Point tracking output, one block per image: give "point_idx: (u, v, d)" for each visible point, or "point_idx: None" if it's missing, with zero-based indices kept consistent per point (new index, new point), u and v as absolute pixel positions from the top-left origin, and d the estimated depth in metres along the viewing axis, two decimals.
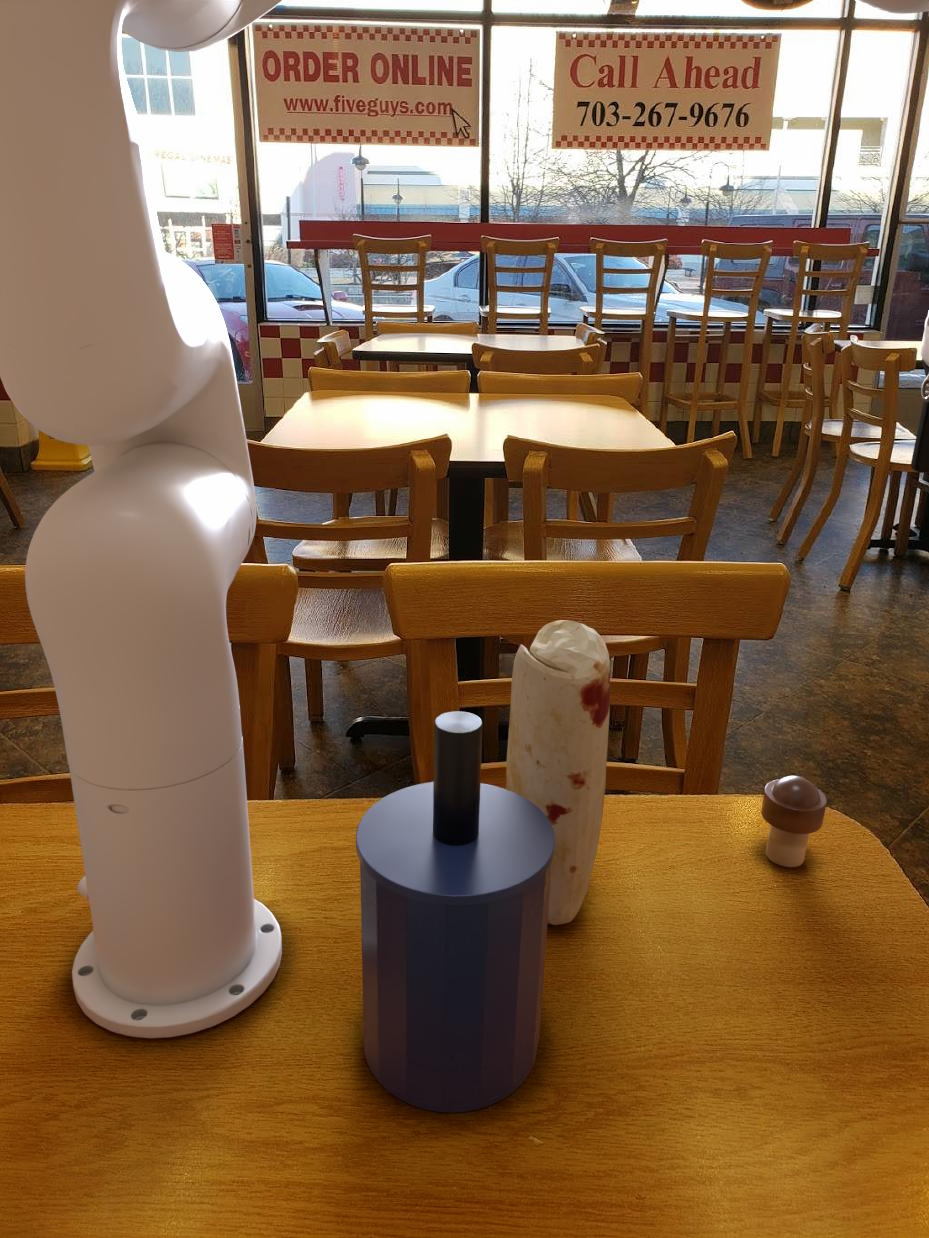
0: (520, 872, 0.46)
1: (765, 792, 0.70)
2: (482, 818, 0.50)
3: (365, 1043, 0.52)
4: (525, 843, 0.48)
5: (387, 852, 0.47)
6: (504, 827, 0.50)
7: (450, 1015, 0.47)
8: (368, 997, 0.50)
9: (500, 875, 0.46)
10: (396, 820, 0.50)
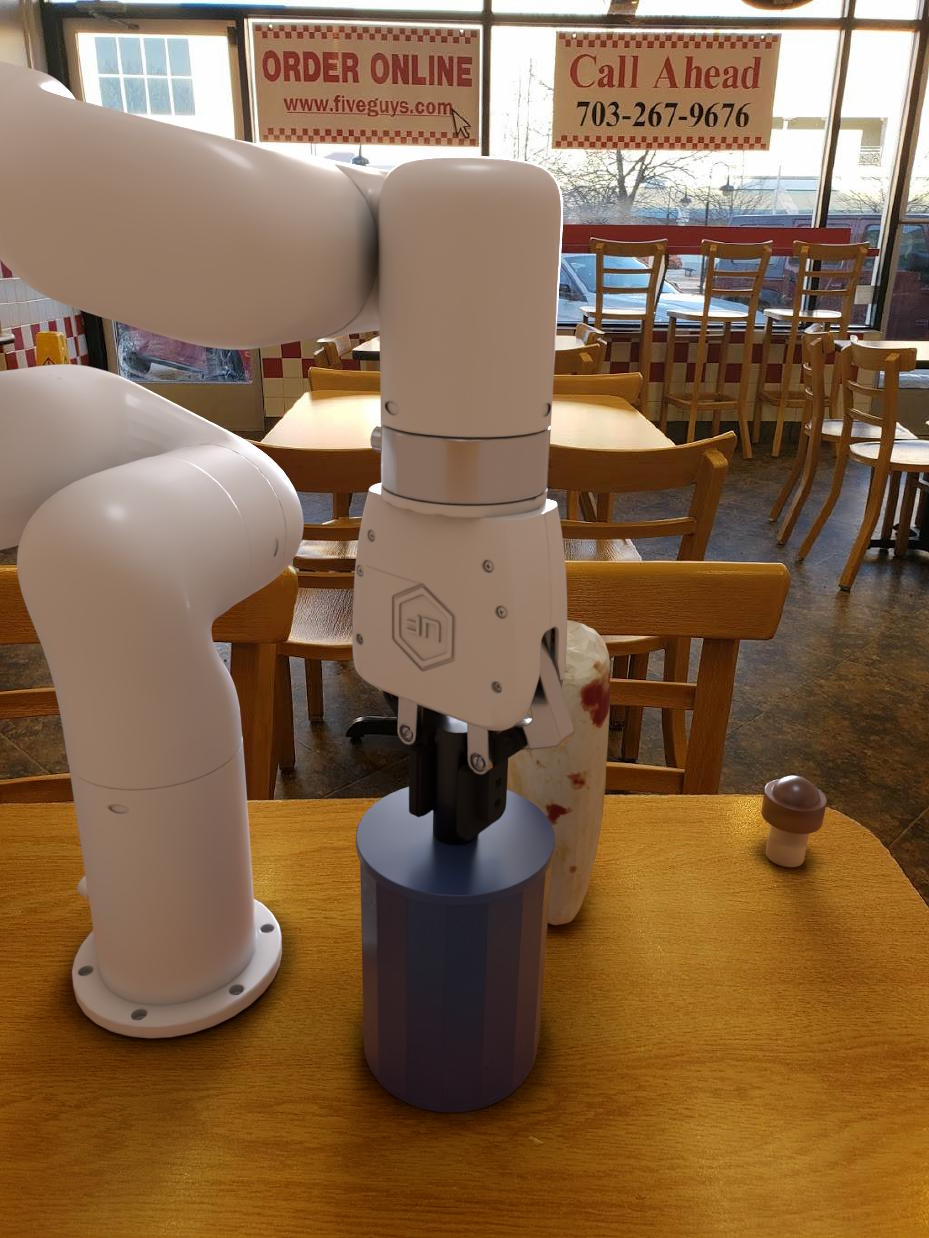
0: (520, 872, 0.46)
1: (765, 792, 0.70)
2: None
3: (365, 1043, 0.52)
4: (525, 843, 0.48)
5: (387, 852, 0.47)
6: (504, 827, 0.50)
7: (450, 1015, 0.47)
8: (368, 997, 0.50)
9: (500, 875, 0.46)
10: (396, 820, 0.50)
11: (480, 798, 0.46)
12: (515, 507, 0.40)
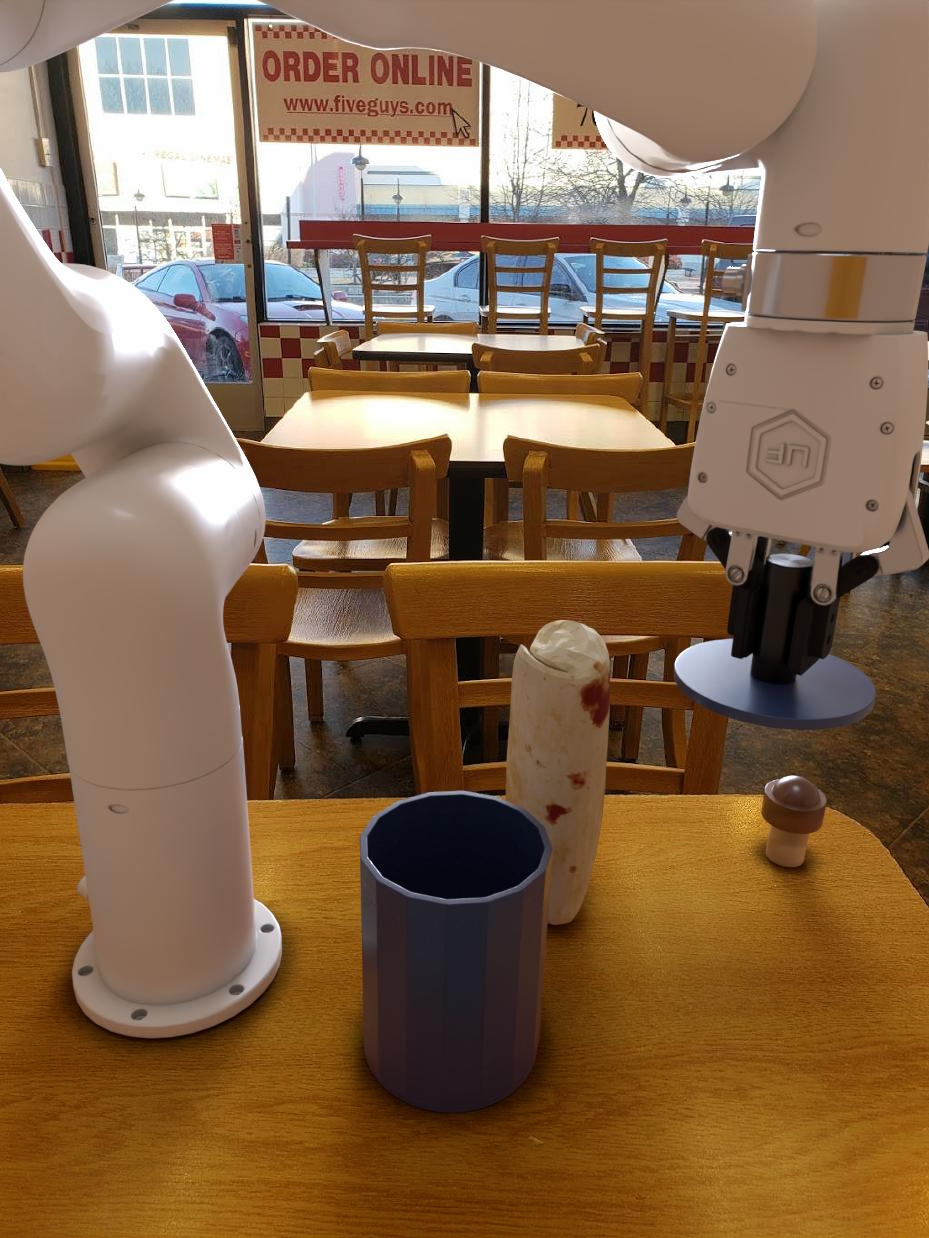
0: (855, 703, 0.48)
1: (765, 792, 0.70)
2: None
3: (365, 1043, 0.52)
4: (844, 683, 0.50)
5: (717, 689, 0.49)
6: (816, 671, 0.51)
7: (450, 1015, 0.47)
8: (368, 997, 0.50)
9: (838, 705, 0.47)
10: (709, 666, 0.52)
11: (815, 632, 0.48)
12: (901, 327, 0.41)
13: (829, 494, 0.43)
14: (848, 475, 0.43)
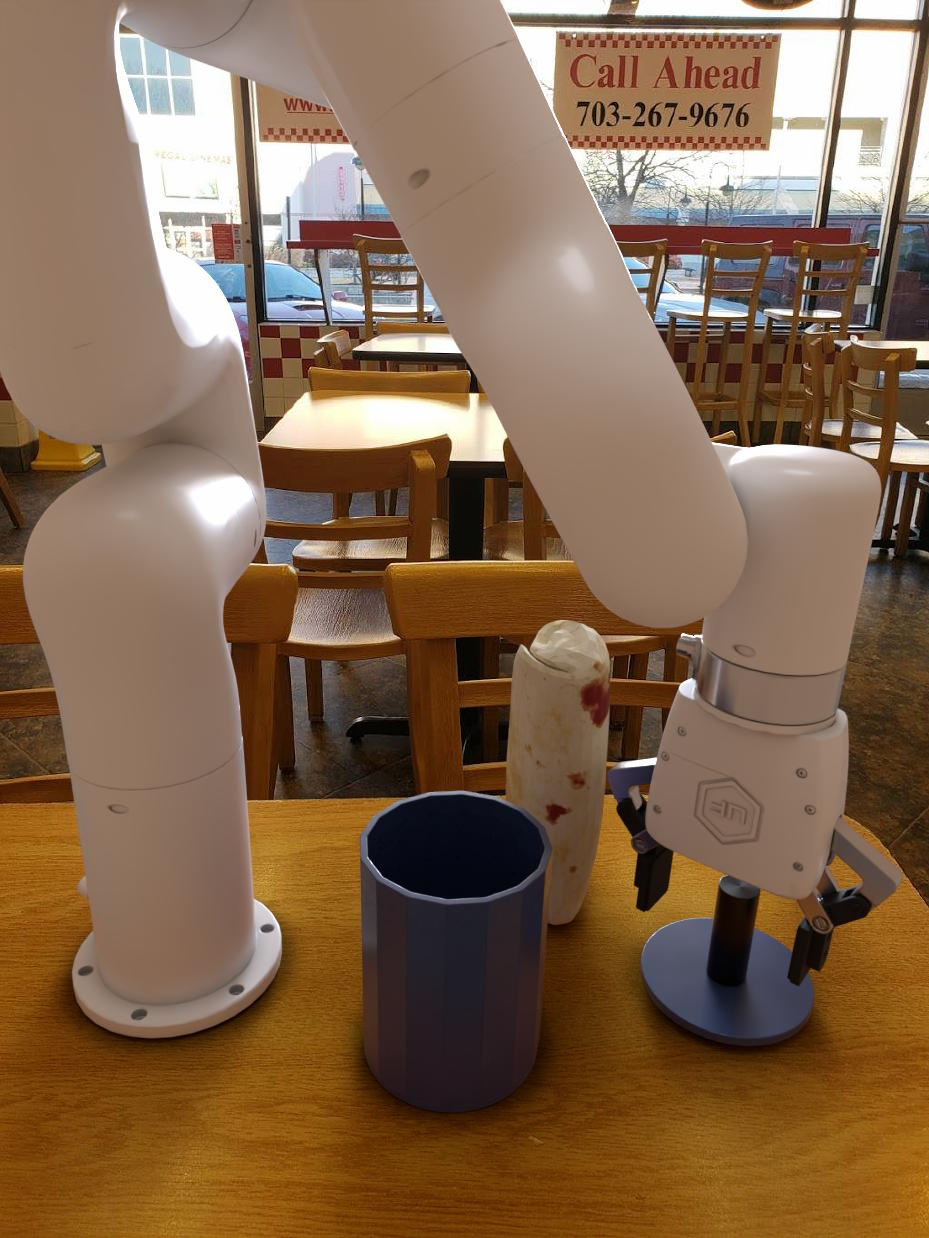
0: (795, 1013, 0.55)
1: None
2: None
3: (365, 1043, 0.52)
4: (788, 983, 0.57)
5: (677, 994, 0.56)
6: (764, 967, 0.59)
7: (450, 1015, 0.47)
8: (368, 997, 0.50)
9: (779, 1017, 0.55)
10: (671, 960, 0.59)
11: (813, 950, 0.53)
12: (823, 724, 0.48)
13: (762, 850, 0.51)
14: (778, 839, 0.50)
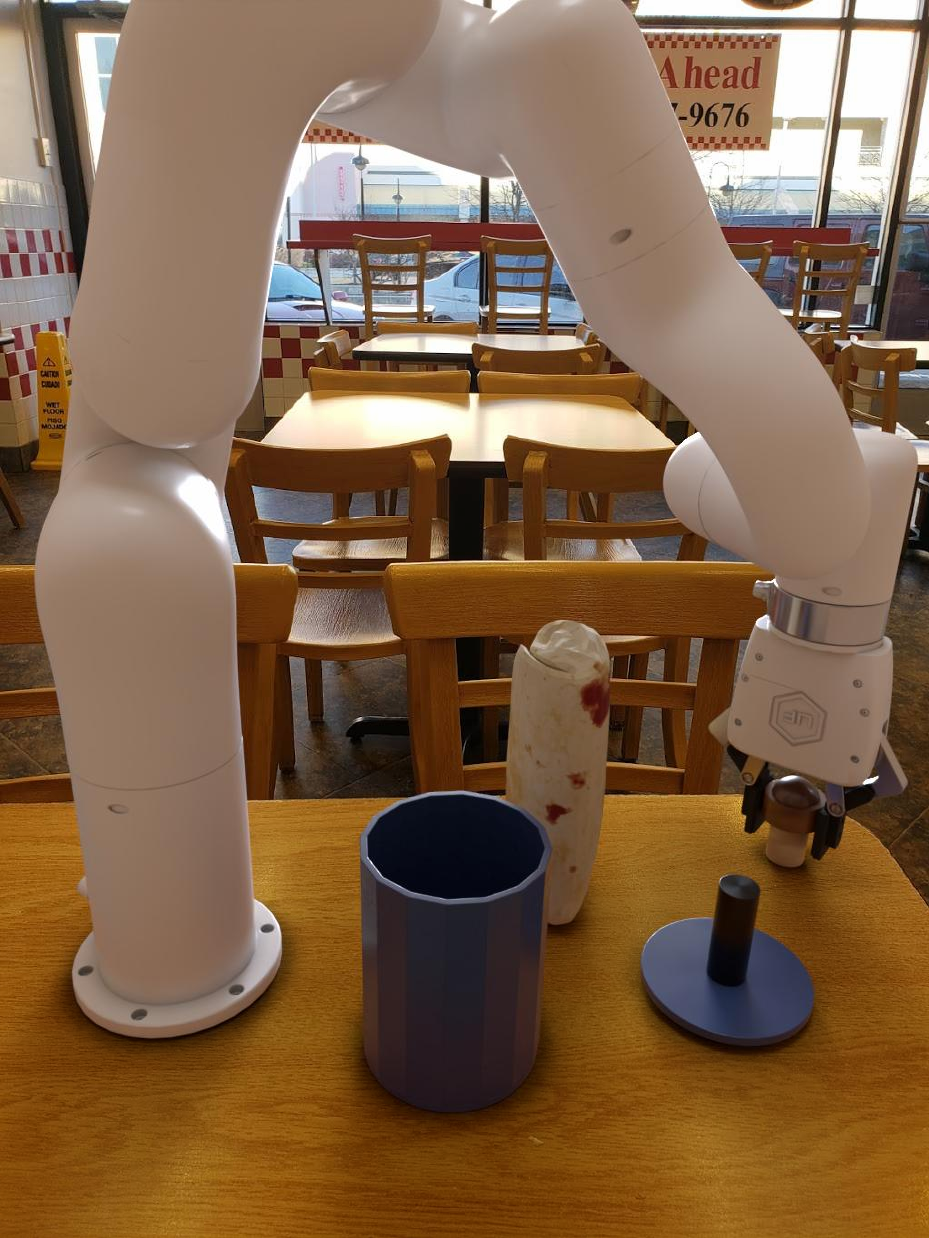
0: (795, 1013, 0.55)
1: (765, 792, 0.70)
2: None
3: (365, 1043, 0.52)
4: (788, 983, 0.57)
5: (677, 994, 0.56)
6: (764, 967, 0.59)
7: (450, 1015, 0.47)
8: (368, 997, 0.50)
9: (779, 1017, 0.55)
10: (671, 960, 0.59)
11: (830, 832, 0.68)
12: (874, 645, 0.62)
13: (826, 748, 0.64)
14: (838, 738, 0.64)
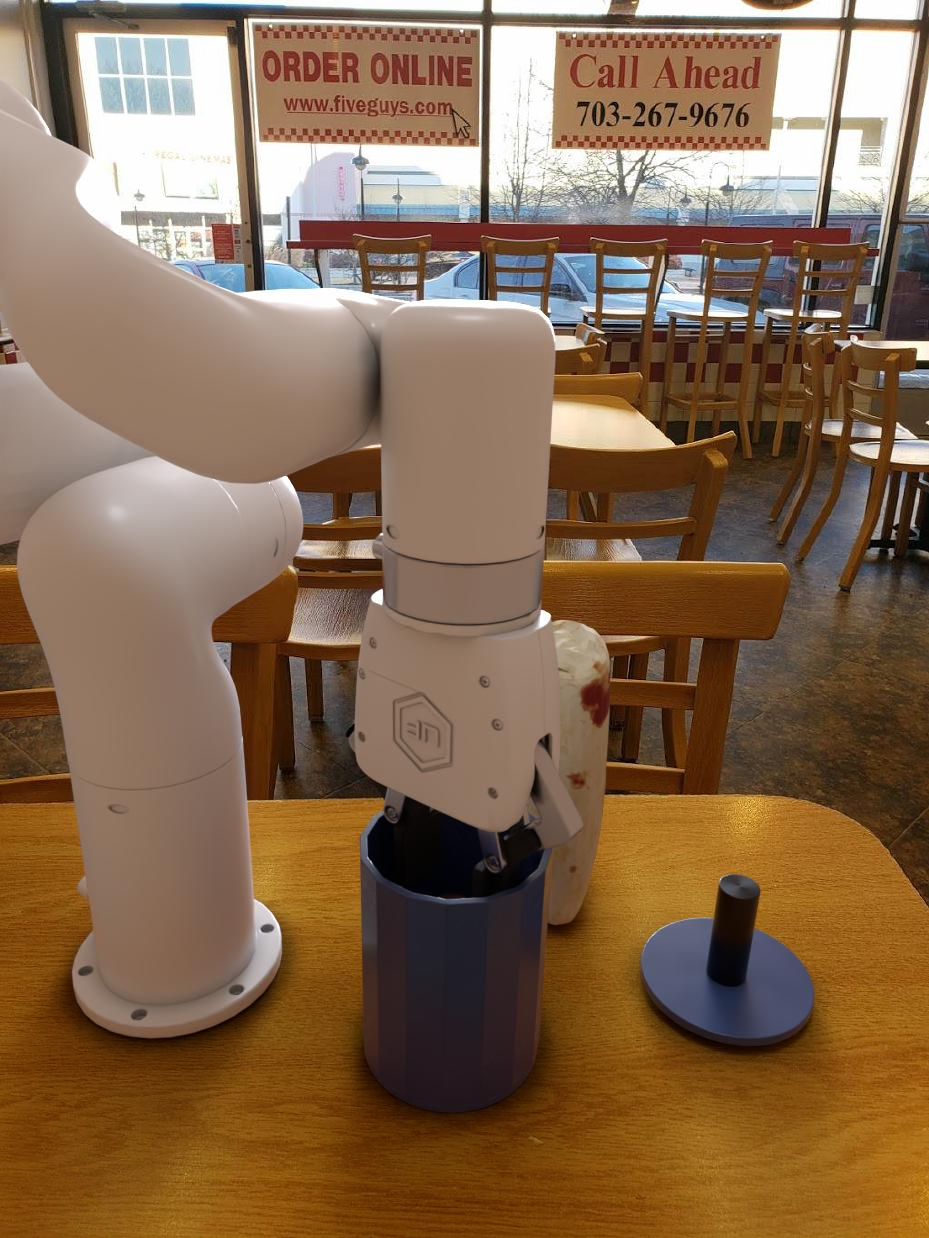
0: (795, 1013, 0.55)
1: None
2: None
3: (365, 1043, 0.52)
4: (788, 983, 0.57)
5: (677, 994, 0.56)
6: (764, 967, 0.59)
7: (450, 1015, 0.47)
8: (368, 997, 0.50)
9: (779, 1017, 0.55)
10: (671, 960, 0.59)
11: None
12: (510, 625, 0.42)
13: (458, 776, 0.44)
14: (471, 761, 0.43)
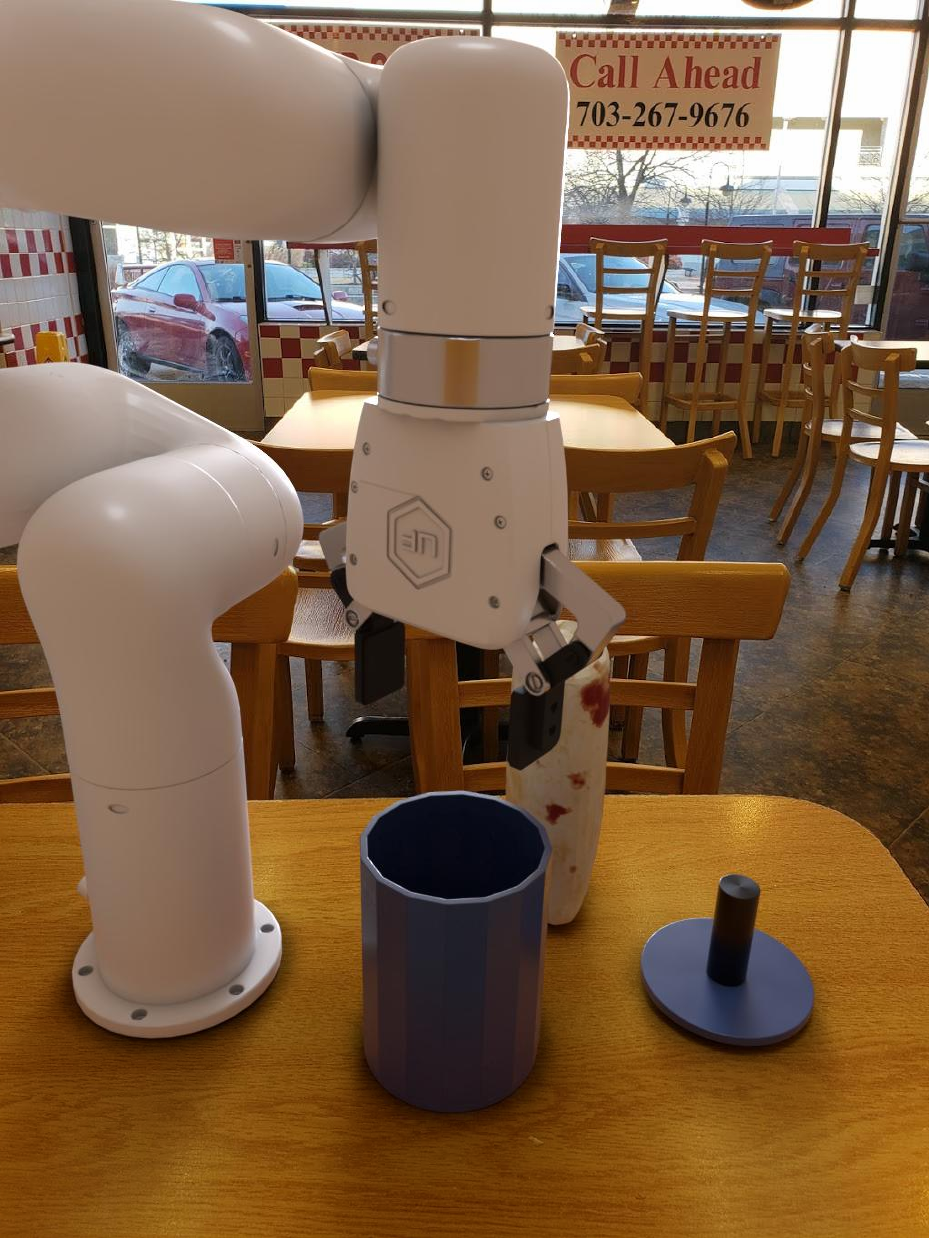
0: (795, 1013, 0.55)
1: None
2: None
3: (365, 1043, 0.52)
4: (788, 983, 0.57)
5: (677, 994, 0.56)
6: (764, 967, 0.59)
7: (450, 1015, 0.47)
8: (368, 997, 0.50)
9: (779, 1017, 0.55)
10: (671, 960, 0.59)
11: (534, 723, 0.42)
12: (516, 413, 0.38)
13: (457, 587, 0.40)
14: (471, 569, 0.40)
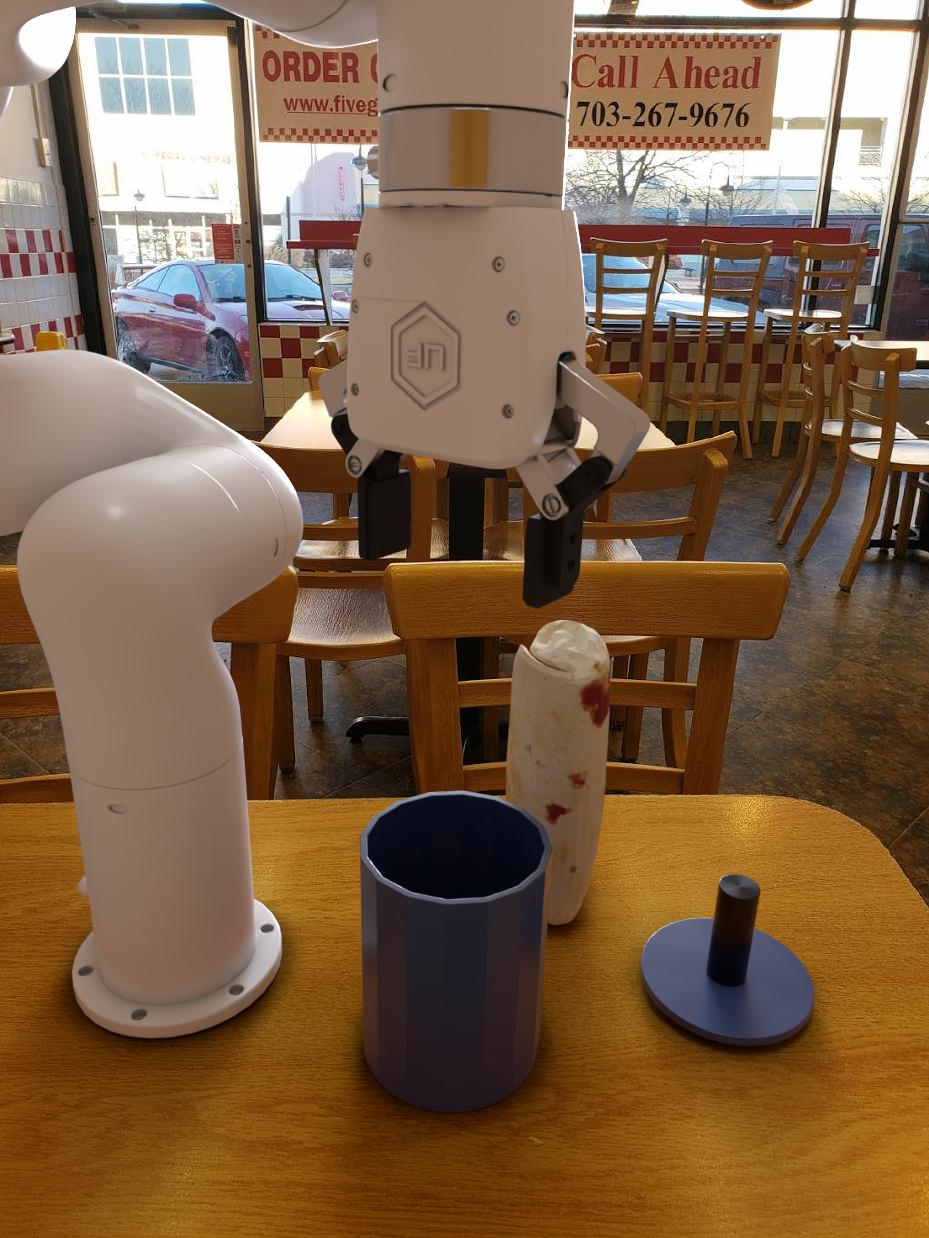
0: (795, 1013, 0.55)
1: None
2: None
3: (365, 1043, 0.52)
4: (788, 983, 0.57)
5: (677, 994, 0.56)
6: (764, 967, 0.59)
7: (450, 1015, 0.47)
8: (368, 997, 0.50)
9: (779, 1017, 0.55)
10: (671, 960, 0.59)
11: (551, 555, 0.39)
12: (529, 199, 0.35)
13: (467, 400, 0.38)
14: (482, 376, 0.37)
